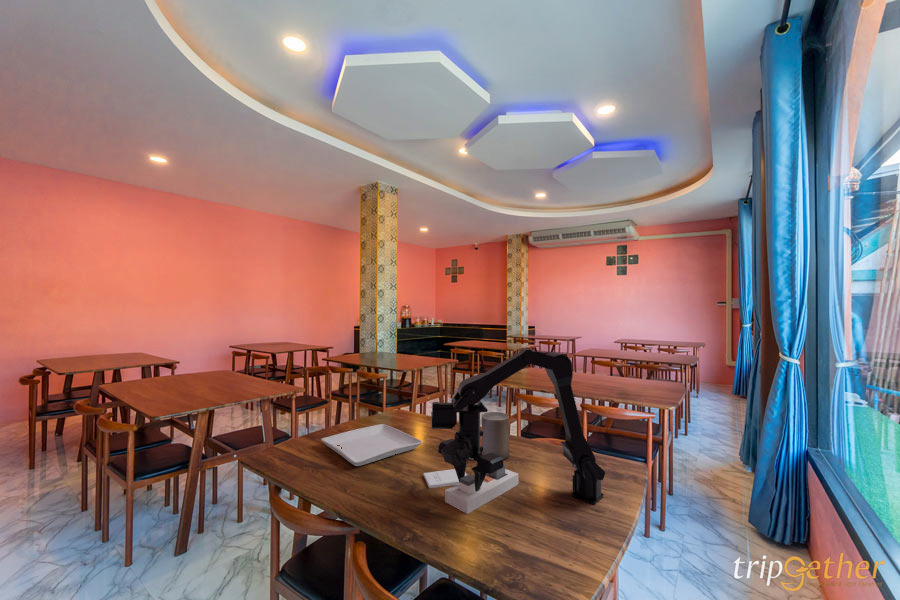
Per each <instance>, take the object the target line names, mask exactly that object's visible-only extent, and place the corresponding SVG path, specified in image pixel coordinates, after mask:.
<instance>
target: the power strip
mask: <svg viewBox="0 0 900 600" xmlns="http://www.w3.org/2000/svg"><path fill="white" fill-rule="evenodd" d="M488 475H489V474H486V476H485V478H484V481H483V483H482V485H481V487H480V490H479V491H477V492H474V493H472V494H470V495H466V494H464V493H462V492H460V483H459V484H457V485H452V486H451V487H449V488H447V489H445V490H444V502H445V503H446V504H448V505H450V506H452V507H454V508H455V509H458V510H459V511H461V512H463V513H464V514H466V515H468V514H470V513H472V512H474V511H476V510H477V509H478V508H480V507H482V506H484V505H485V504H487V503H489V502H491V501H493V500H494V499H496V498H498V497H499V496H501V495H503V494H505V493H506V492H508V491H510V490H511V489H513V488H514V487H517V486H518V485H519V473H517V472H514V471H512V470H510V469H508V468H505V476H504V477H502V478H500V479H498V480H496V479H493V478H491V477H489V476H488Z"/></svg>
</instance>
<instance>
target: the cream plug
mask: <svg viewBox="0 0 900 600" xmlns="http://www.w3.org/2000/svg"><path fill="white" fill-rule="evenodd" d="M460 492H462V493H464V494H466V495H470V494H472V493H474V492H476V491H475V474H473V473H469V474H467V475H466V476H464V477H462V478H460Z"/></svg>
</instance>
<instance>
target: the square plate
mask: <svg viewBox="0 0 900 600" xmlns="http://www.w3.org/2000/svg"><path fill="white" fill-rule="evenodd" d="M320 440H321V442H323V444H324V445H325V446H327V447H328V448H330V449H331V450H333V451H334V452H335V453H336V454H339V455H340V456H341V457H343V458H344V459H345V460H347V462H349V463H350V464H351V465H353V466H355V467H361V466H363V465H367V464H371V463H374V462H377V461H380V460H383V459H385V458H388V457H391V456H392V457H393V456H395V454H396V455H398V454H402V453H405V452H408V451H412V450H414V449H416V448H418V447H419V446H420V445H421V444H423V440H421V439H418V438H417V437H415V436H412V435H410V434H408V433H406V432H404V431H402V430H400V429H397V428H396V427H393V426H390V425H388V424H386V423H381V424H380V423H379V424H375V425H370V426H366V427H360V428H357V429H353V430H349V431H344V432H341V433H337V434H336V433H335V434H333V435H329V436H326V437H322V438H320ZM337 445H340V446H337ZM341 447H342V449H341Z"/></svg>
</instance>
